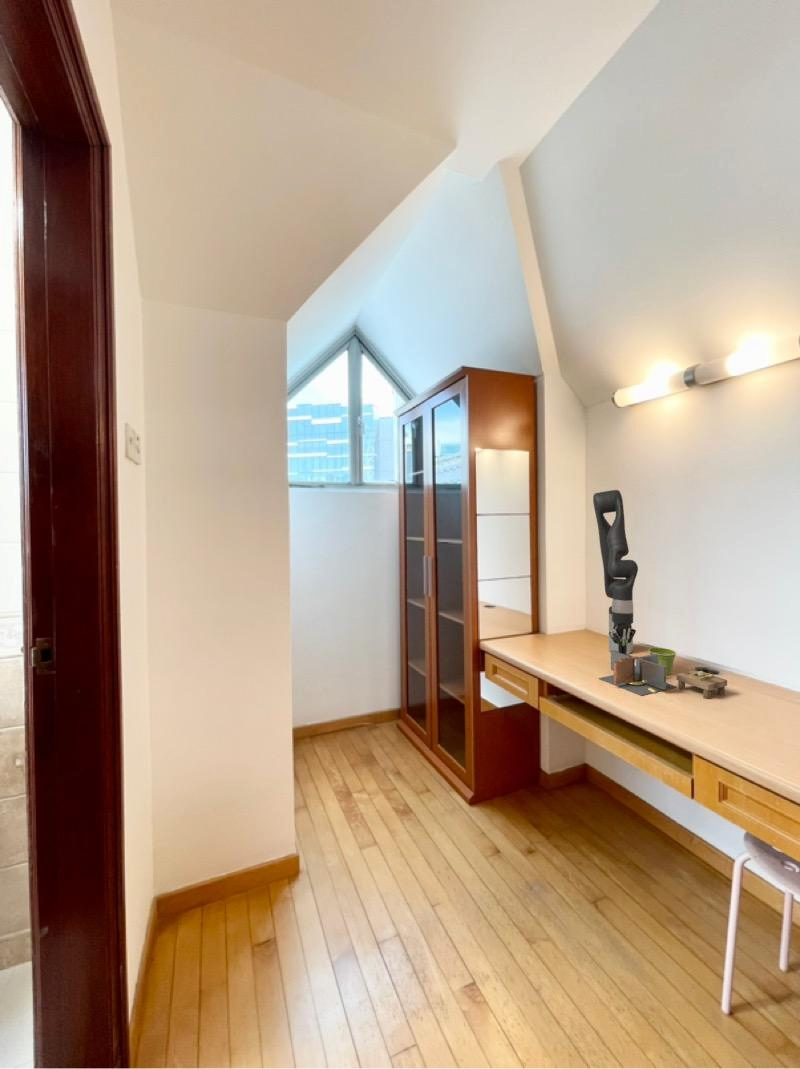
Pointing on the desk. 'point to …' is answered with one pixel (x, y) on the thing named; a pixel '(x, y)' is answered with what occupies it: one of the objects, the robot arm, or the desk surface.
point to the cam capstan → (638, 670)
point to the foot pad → (635, 689)
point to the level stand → (702, 682)
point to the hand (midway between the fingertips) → (622, 654)
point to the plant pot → (664, 658)
